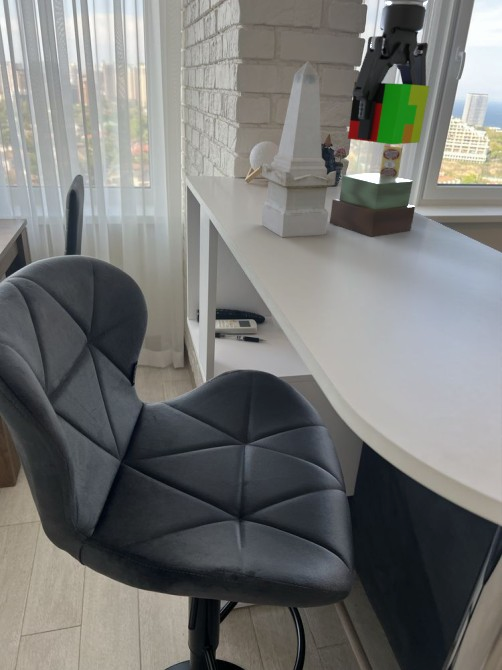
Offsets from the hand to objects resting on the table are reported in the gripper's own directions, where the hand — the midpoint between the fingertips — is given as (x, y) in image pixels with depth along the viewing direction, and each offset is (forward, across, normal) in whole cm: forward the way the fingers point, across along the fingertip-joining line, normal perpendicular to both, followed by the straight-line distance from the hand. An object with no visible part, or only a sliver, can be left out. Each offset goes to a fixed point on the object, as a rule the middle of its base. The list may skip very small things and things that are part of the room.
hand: (383, 138), depth 99 cm
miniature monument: (+18, +17, -5) cm, 25 cm away
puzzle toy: (+1, 0, 0) cm, 1 cm away
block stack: (+18, 0, 0) cm, 18 cm away
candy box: (+18, -13, -8) cm, 24 cm away
